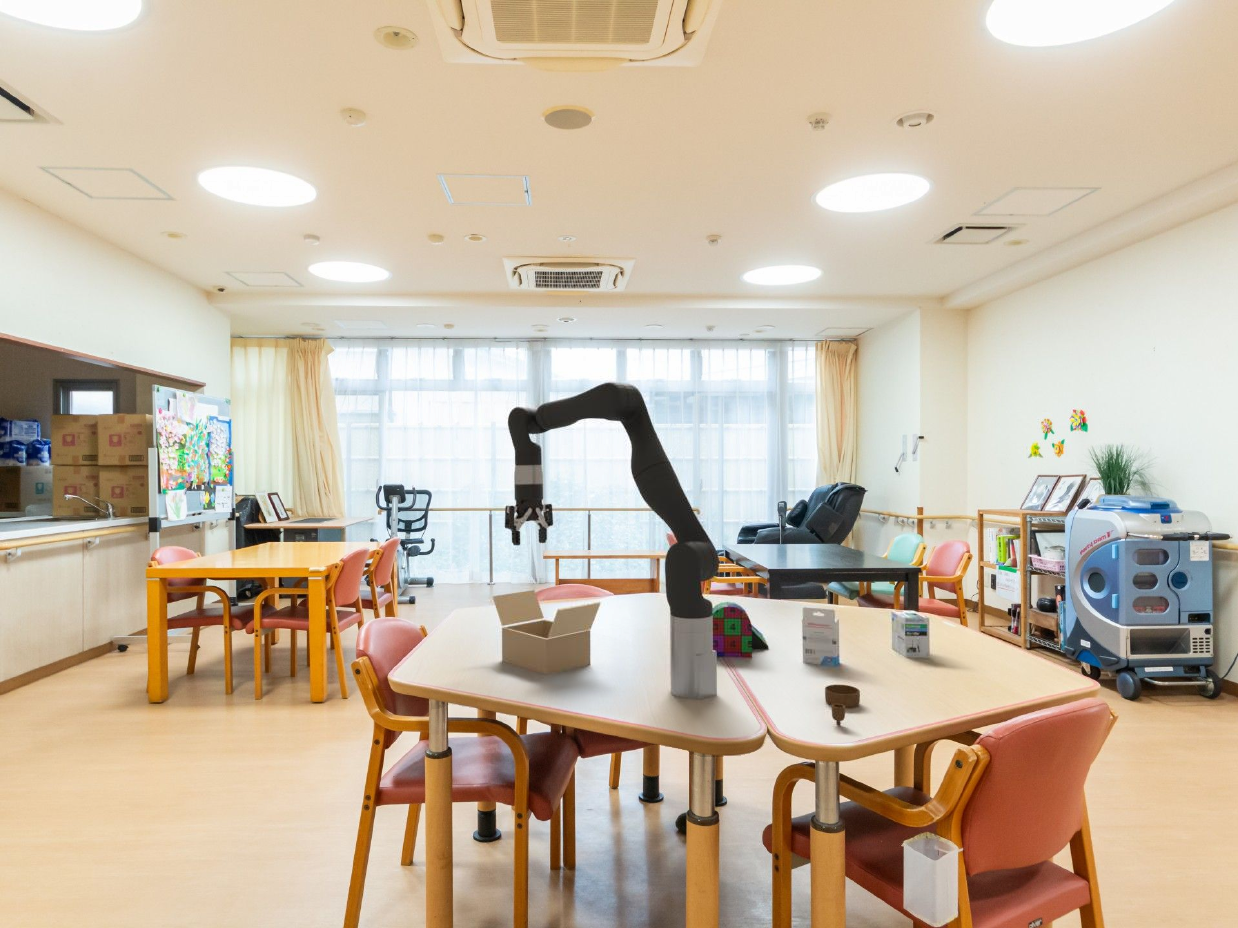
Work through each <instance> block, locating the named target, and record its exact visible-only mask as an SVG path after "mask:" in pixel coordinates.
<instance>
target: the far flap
mask: <svg viewBox="0 0 1238 928" xmlns="http://www.w3.org/2000/svg"><path fill="white" fill-rule="evenodd" d="M492 600H493V603H494V606H495V608H496V612H497V615H498V618H499V621H500V625H501V626H502V627H505V626H511V625H514V624H515V625H516V624H521V623H525V622H526V623H527V622H530V621H531V622H532V621H537V620H543V619H544V614H543V611H542V608H541V606H540V605H541V604H540V603H539V599H538V597H537V595H536V591H535V589H534V590H533V589H532V590H526V591H520V592H519V591H518V592H513V593H512V592H511V593H506V594H501V595H500V594H499V595H494V596H492Z"/></svg>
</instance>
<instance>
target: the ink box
mask: <svg viewBox="0 0 1238 928" xmlns="http://www.w3.org/2000/svg"><path fill="white" fill-rule="evenodd" d="M816 613H820V614H823V615H819V614H818V615H817V614H816ZM839 620H840V619H839V618H836V611H835V609H829V608H818V607H806V606H805V607H803V608H802V620H801V623H802V625H801V628H802V629H801V630H802V663H804V664H805V663H806V664H811V665H812V664H814V665H820V666H830V667H838V665H839V664H840V621H839Z"/></svg>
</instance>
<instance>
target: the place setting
mask: <svg viewBox="0 0 1238 928" xmlns="http://www.w3.org/2000/svg"><path fill="white" fill-rule="evenodd" d="M824 697H825V699H824V700H825V702H826V704H827V703H828V704H829V706H830V705H832V706H831V716H832V719H833V720H834V721H836V722H835V723H836V726H837V725H841V724H842V722H843V721H844V720H845V717H846V709H855V708H857V707H859V705H860V700H861V692H860V689H859V688H857V687H856V686H852V685H847V684H830V685H827V686H825V688H824ZM828 704H827V705H828ZM854 707H855V708H854Z"/></svg>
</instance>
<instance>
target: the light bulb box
mask: <svg viewBox="0 0 1238 928" xmlns="http://www.w3.org/2000/svg"><path fill="white" fill-rule="evenodd" d="M890 612H891V649H892V650H893V651H895V652H897V653H898V654H900V655H901V656H902V657H904V658H905V659H907V658H908V659H909V658H910V659H911V658H912V659H917V658H918V659H929V658H931V657H930V656H931V654H930V652H931V651H930V650H931V649H930V618H929V617H928V616H926V615H923V614H921V613H920V612H917V611H916V610H901V609H900V610H897V609H892V610H891V611H890Z"/></svg>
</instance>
